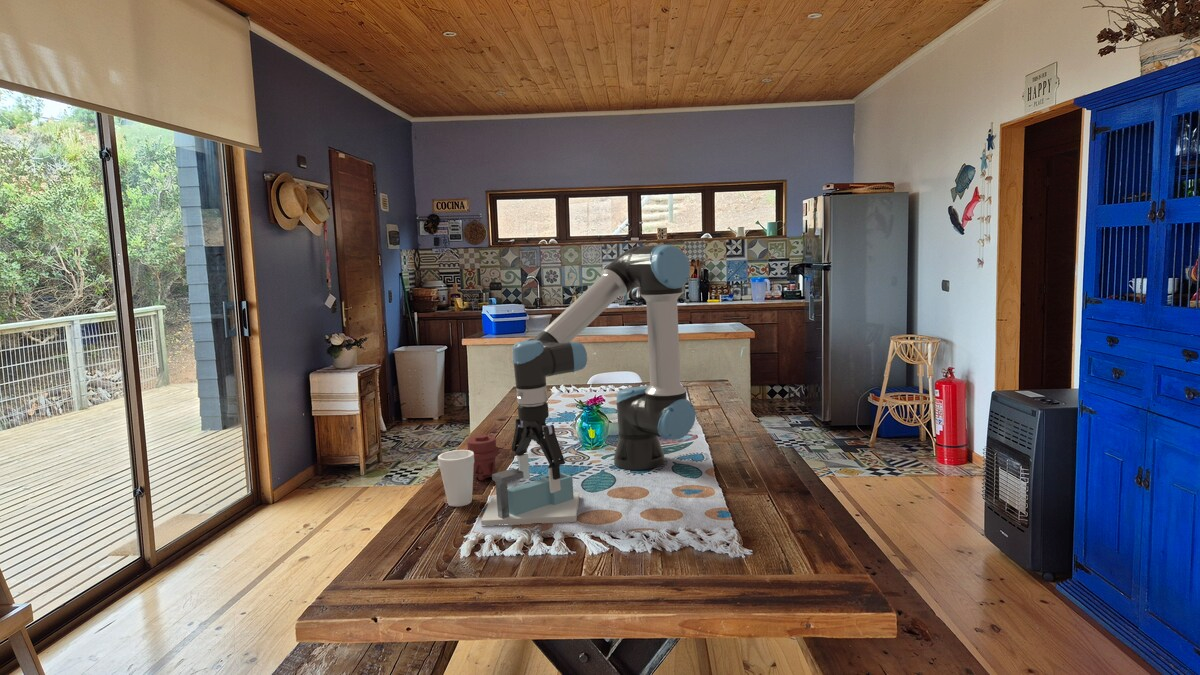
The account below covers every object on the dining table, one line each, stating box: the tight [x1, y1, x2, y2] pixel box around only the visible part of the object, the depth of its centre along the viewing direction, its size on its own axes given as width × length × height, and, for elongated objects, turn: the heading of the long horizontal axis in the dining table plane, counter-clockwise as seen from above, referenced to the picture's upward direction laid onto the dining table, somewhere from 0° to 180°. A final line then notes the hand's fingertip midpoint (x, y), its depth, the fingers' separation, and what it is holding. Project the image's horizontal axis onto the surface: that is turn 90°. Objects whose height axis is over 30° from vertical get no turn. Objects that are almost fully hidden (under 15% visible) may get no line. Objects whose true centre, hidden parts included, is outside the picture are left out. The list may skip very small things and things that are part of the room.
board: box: [480, 472, 580, 526], centre depth 183 cm, size 23×17×8 cm
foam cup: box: [437, 449, 474, 507], centre depth 193 cm, size 10×9×13 cm
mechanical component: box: [466, 433, 500, 481], centre depth 213 cm, size 12×10×10 cm
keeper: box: [491, 468, 524, 519], centre depth 178 cm, size 6×4×12 cm
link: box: [507, 471, 574, 516], centre depth 183 cm, size 17×6×6 cm, turn 129°
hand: (539, 485), depth 183 cm, fingers open, 13 cm apart
